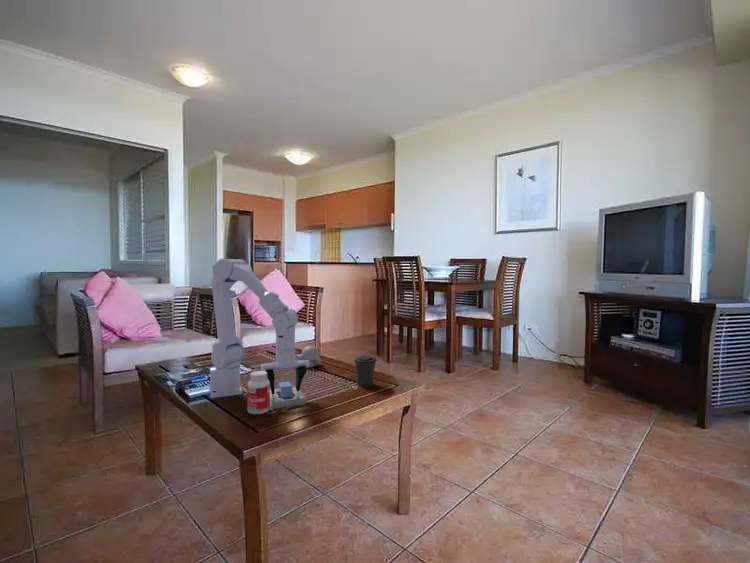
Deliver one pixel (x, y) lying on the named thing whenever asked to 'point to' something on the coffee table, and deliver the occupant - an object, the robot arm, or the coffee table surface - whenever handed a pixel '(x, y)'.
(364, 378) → the coffee cup
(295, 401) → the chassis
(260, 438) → the coffee table surface
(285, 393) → the block
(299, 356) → the round bodied animal figurine
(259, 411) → the pill bottle
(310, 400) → the coffee table surface
